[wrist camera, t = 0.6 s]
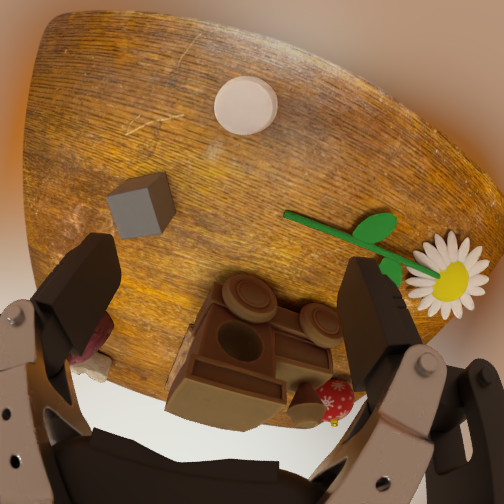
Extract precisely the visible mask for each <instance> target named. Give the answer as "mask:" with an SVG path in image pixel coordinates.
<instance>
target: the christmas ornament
mask: <svg viewBox="0 0 504 504" xmlns="http://www.w3.org/2000/svg"><path fill="white" fill-rule="evenodd" d="M315 391H316V393H317V394H318V396H319V397H320V399H321V401H322V402H323V404H324V405H325V407H326V408H327V409H326V411H325V413H324V415H323V416H322V418H321V420H323V421H328V422H331V426H333V427H336V426H338V420H340V419H342V418H344V417H345V416H346V415H348V414H349V412H350V411H351V409H352V407H353V405H354V393H353V391H352V389H351V387H350V386H349V385H348V384H347V383H345V382H343V381H341V380H336V379H332V380H328V381H327V382H326V383H325V384H324V385H322V386H321V387H319V388H318V389H317V390H315ZM334 424H336V426H335V425H334Z"/></svg>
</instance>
